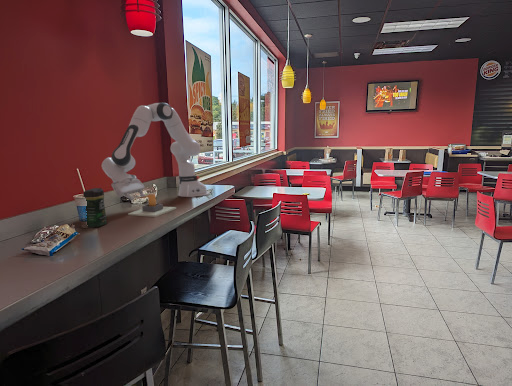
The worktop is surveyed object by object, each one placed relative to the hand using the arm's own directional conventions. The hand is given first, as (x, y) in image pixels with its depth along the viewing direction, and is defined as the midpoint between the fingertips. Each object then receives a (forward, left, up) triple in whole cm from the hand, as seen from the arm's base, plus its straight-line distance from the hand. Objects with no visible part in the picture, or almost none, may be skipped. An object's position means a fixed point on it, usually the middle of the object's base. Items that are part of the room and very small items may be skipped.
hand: (138, 197), depth 194 cm
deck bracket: (-7, +6, -8) cm, 12 cm away
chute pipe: (-7, +6, -7) cm, 12 cm away
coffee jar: (+20, +24, -8) cm, 33 cm away
